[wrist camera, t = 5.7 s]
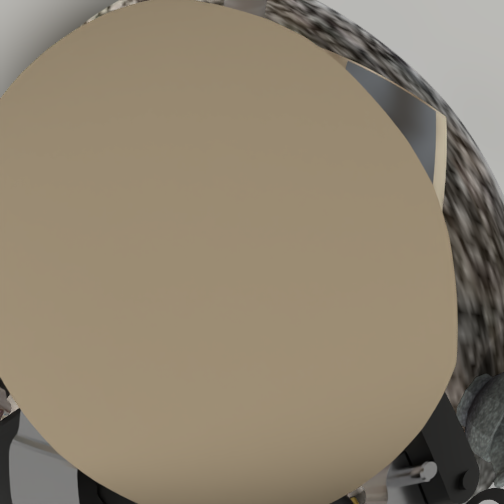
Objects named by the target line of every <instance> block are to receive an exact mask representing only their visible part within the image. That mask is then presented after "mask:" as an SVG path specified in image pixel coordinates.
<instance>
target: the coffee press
mask: <svg viewBox="0 0 504 504" xmlns="http://www.w3.org/2000/svg"><path fill="white" fill-rule="evenodd" d="M483 500H494V501H496V502H497V503H499V504H504V489H500V488H491V489H487V490H484V491H482V492H480V493H478V494H477V495H476V496H474V497H473V498H472V499H471V500H470V501H468V502H467V503H466V504H479V503H480V502H481V501H483Z"/></svg>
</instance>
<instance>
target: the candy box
mask: <svg viewBox="0 0 504 504" xmlns="http://www.w3.org/2000/svg"><path fill="white" fill-rule="evenodd" d="M351 500H352V501H353V503H354V504H359V503H358V501H357V499H356V498H355V497H353V498H351Z"/></svg>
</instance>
